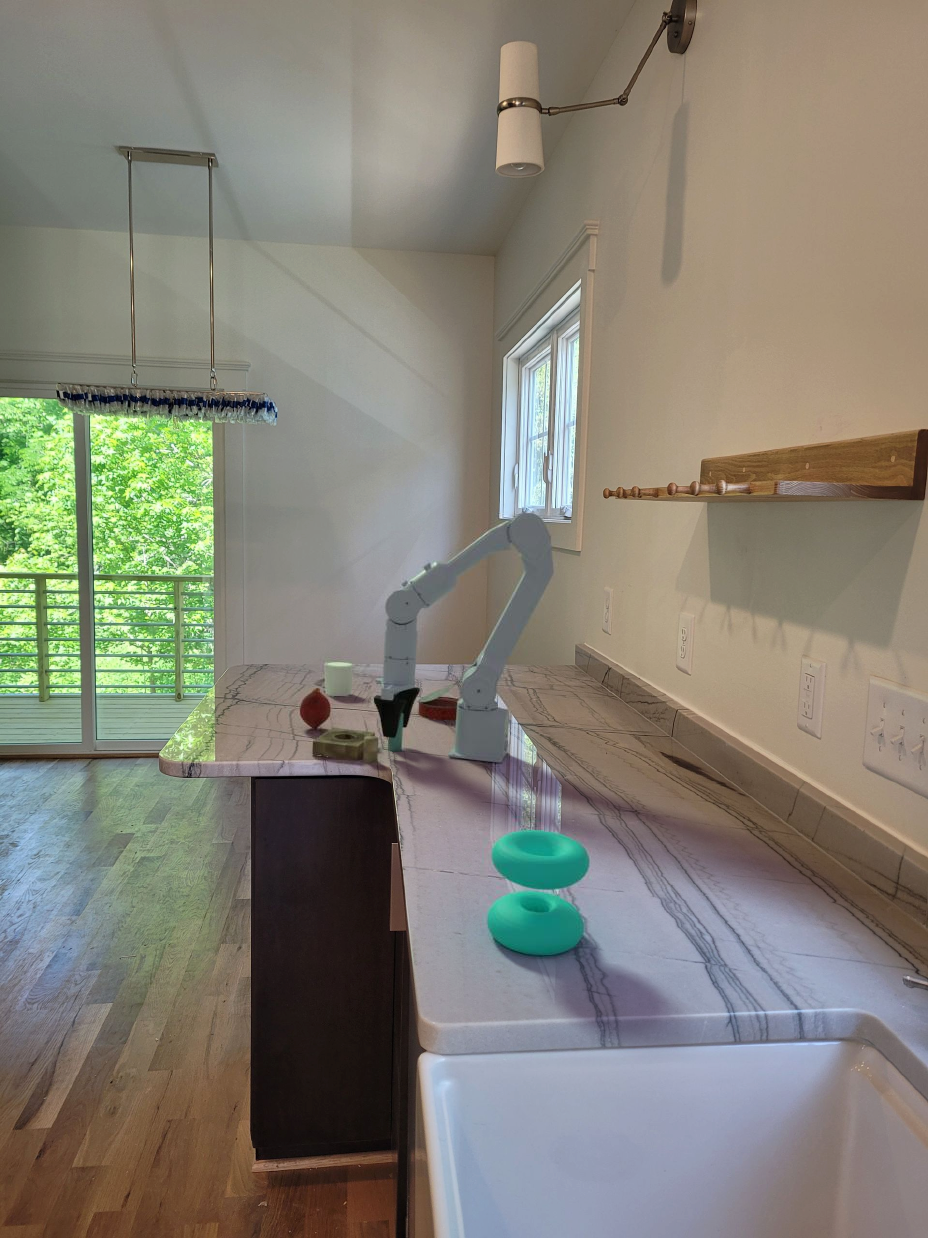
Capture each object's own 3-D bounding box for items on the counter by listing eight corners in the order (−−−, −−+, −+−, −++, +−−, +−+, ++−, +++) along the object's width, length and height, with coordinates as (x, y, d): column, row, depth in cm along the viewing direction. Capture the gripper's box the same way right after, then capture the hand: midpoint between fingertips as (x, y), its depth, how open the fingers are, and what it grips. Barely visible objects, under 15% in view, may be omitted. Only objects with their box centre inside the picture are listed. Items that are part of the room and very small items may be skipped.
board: (374, 746, 158) (374, 732, 157) (357, 761, 148) (357, 746, 148) (331, 741, 159) (332, 727, 159) (312, 755, 149) (312, 741, 149)
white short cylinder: (359, 694, 199) (361, 664, 199) (339, 698, 194) (341, 667, 193) (336, 689, 203) (337, 659, 202) (316, 693, 197) (317, 663, 196)
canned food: (443, 743, 180) (431, 704, 176) (413, 727, 188) (401, 689, 183) (482, 714, 186) (472, 676, 181) (452, 699, 193) (441, 662, 188)
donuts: (599, 865, 85) (497, 861, 84) (591, 962, 86) (490, 959, 85) (580, 828, 95) (488, 824, 94) (573, 915, 96) (482, 912, 95)
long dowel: (403, 748, 157) (405, 713, 157) (399, 751, 155) (401, 716, 154) (390, 746, 158) (392, 711, 157) (386, 750, 155) (388, 714, 155)
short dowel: (378, 759, 149) (380, 737, 149) (374, 763, 147) (376, 740, 147) (365, 758, 150) (366, 735, 149) (361, 762, 148) (362, 738, 147)
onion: (323, 734, 164) (325, 692, 163) (294, 730, 165) (295, 689, 164) (333, 726, 169) (335, 686, 168) (305, 723, 170) (307, 683, 169)
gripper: (389, 648, 162) (385, 720, 164) (365, 660, 148) (361, 739, 150) (426, 652, 161) (421, 724, 163) (406, 665, 147) (401, 743, 148)
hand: (395, 731), depth 156 cm, fingers open, 7 cm apart
